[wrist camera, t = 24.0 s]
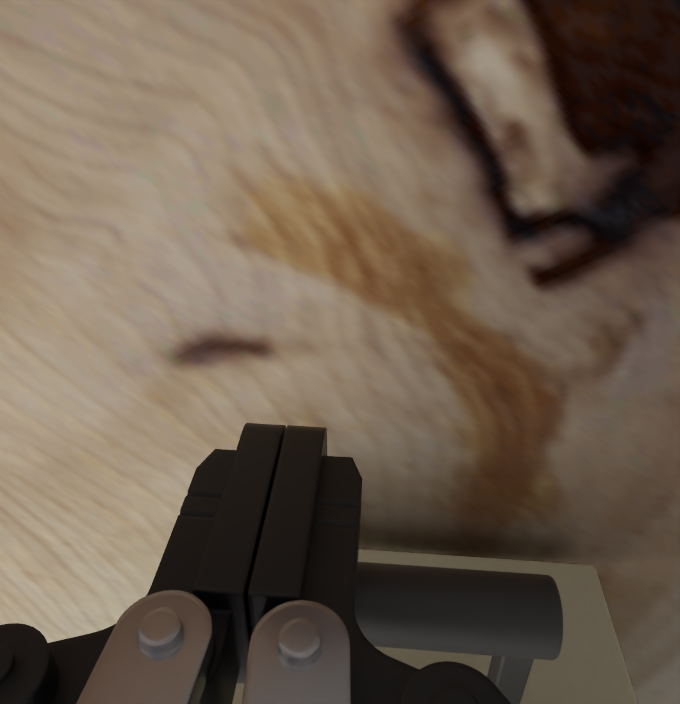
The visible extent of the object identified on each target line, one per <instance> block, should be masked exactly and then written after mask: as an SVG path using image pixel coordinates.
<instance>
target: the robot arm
mask: <svg viewBox="0 0 680 704" xmlns="http://www.w3.org/2000/svg"><path fill="white" fill-rule="evenodd" d="M361 496H362V477H361V475H360V473H359V471H358V469H357V467H356V465H355V463H354V460H353V458H350V457H334V456H327V429H326V428H322V427H306V426H290V425H288V426H287V428H286V426H285V425H270V424H254V423H246V424H245V426H244V428H243V431H242V434H241V437H240V440H239V443H238V446H237V450H222V449H215V450H214V451H213V452H212V453H211V454H210V455H209V456H208V457H207V458H206V459H205V460H204V461H203V462H202V463H201V464H200V465H199V466H198V467H197V469H196V471H195V474H194V476H193V479H192V482H191V484H190V487H189V489H188V495H187V496H186V497H185V500H184V502H183V505H182V507H181V510H180V515H178V518H177V520H176V523H175V526H174V528H173V531H172V533H171V536H170V539H169V541H168V544H167V546H166V549H165V552H164V554H163V557H162V559H161V562H160V565H159V567H158V570H157V572H156V575H155V578H154V580H153V583H152V585H151V588H150V590H149V592H148V594H147V595H146V597H144V598H142V599H140V600H138V601H137V602H136V603H134V604H133V605H131V606H130V607H129V608H128V609H127V610H126V611H125V612H124V613H123V615H122V616H121V617H120V618H119V620H118V622H117V623H116V624H115V625H113V626H111V627H109V628H106V629H104V630H101V631H98V632H94V633H91V634H86V635H82V636H78V637H73V638H69V639H64V640H60V641H56V642H51V643H47V641H46V639H45V637H44V636H43V635H42V634H41V632H40V631H38V630H37V629H35V628H34V627H31V626H28V625H25V624H18V623H17V624H5V625H0V704H232V702H233V698H234V693H235V689H236V684H237V683H244V689H243V697H242V704H511V703H510V702H509V700H508V699H507V698H506V697H505V696H504V695H503V694H502V692H501V691H500V690H499V689H498V688H497V687H496V685H495V684H494V683H493V682H492V681H491V680H490V679H489V678H488V677H486V676H485V675H484V674H483V673H481V672H480V671H478V670H476V669H474V668H473V667H471V666H468V665H465V664H463V663H458V662H453V661H442V662H435V663H432V664H429V665H427V666H425V667H423V668H421V669H420V670H419V669H417V668H415V667H413V666H410V665H408V664H406V663H403V662H401V661H399V660H396V659H394V658H392V657H390V656H388V655H386V654H384V653H382V652H381V651H380V650H378V649H377V648H375V647H374V646H373V645H372V644H371V643H370V642H369V641H368V640H367V638H366V637H365V636H364V634H363V633H362V631H361V629H360V628H359V626H358V623H357V620H356V617H355V600H356V584H357V569H358V554H359V539H360V518H361Z"/></svg>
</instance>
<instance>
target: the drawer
mask: <svg viewBox="0 0 680 704" xmlns="http://www.w3.org/2000/svg"><path fill="white" fill-rule="evenodd" d="M355 617H356V620H357V623H358V626H359V628H360V629H361V631H362V633H363V634H364V636H365V637H366V638H367V640H368V641H369V642H370V643H371V644H372V645H373V646H374V647H375V648H377V649H378V650H380V651H381V652H382V653H384V654H386V655H388V656H390V657H392V658H394V659H396V660H399V661H401V662H403V663H406V664H408V665H410V666H413V667H415V668H417V669H419V670H420V669H421V668H423V667H425V666H427V665H429V664H432V663H435V662H442V661H453V662H458V663H463V664H465V665H468V666H471V667H473V668H474V669H476V670H478V671H480V672H481V673H483V674H484V675H485V676H486V677H488V678H489V679H490V680H491V681H492V682H493V683H494V684H495V685H496V687H497V688H498V689H499V690H500V691H501V692H502V694H503V695H504V696H505V697H506V698H507V699H508V700H509V702H510V703H511V704H638V703H637V700H636V697H635V693H634V690H633V687H632V684H631V681H630V677H629V674H628V671H627V668H626V665H625V661H624V658H623V655H622V652H621V649H620V645H619V642H618V639H617V636H616V633H615V629H614V626H613V623H612V620H611V617H610V613H609V610H608V607H607V604H606V600H605V597H604V594H603V591H602V588H601V584H600V581H599V578H598V575H597V572H596V568H595V566H593V565H584V564H569V563H555V562H540V561H525V560H511V559H496V558H482V557H467V556H452V555H438V554H423V553H409V552H394V551H379V550H365V549H359V554H358V569H357V584H356V600H355ZM243 689H244V683H237V684H236V689H235V693H234V698H233V702H232V704H242V697H243Z"/></svg>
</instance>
